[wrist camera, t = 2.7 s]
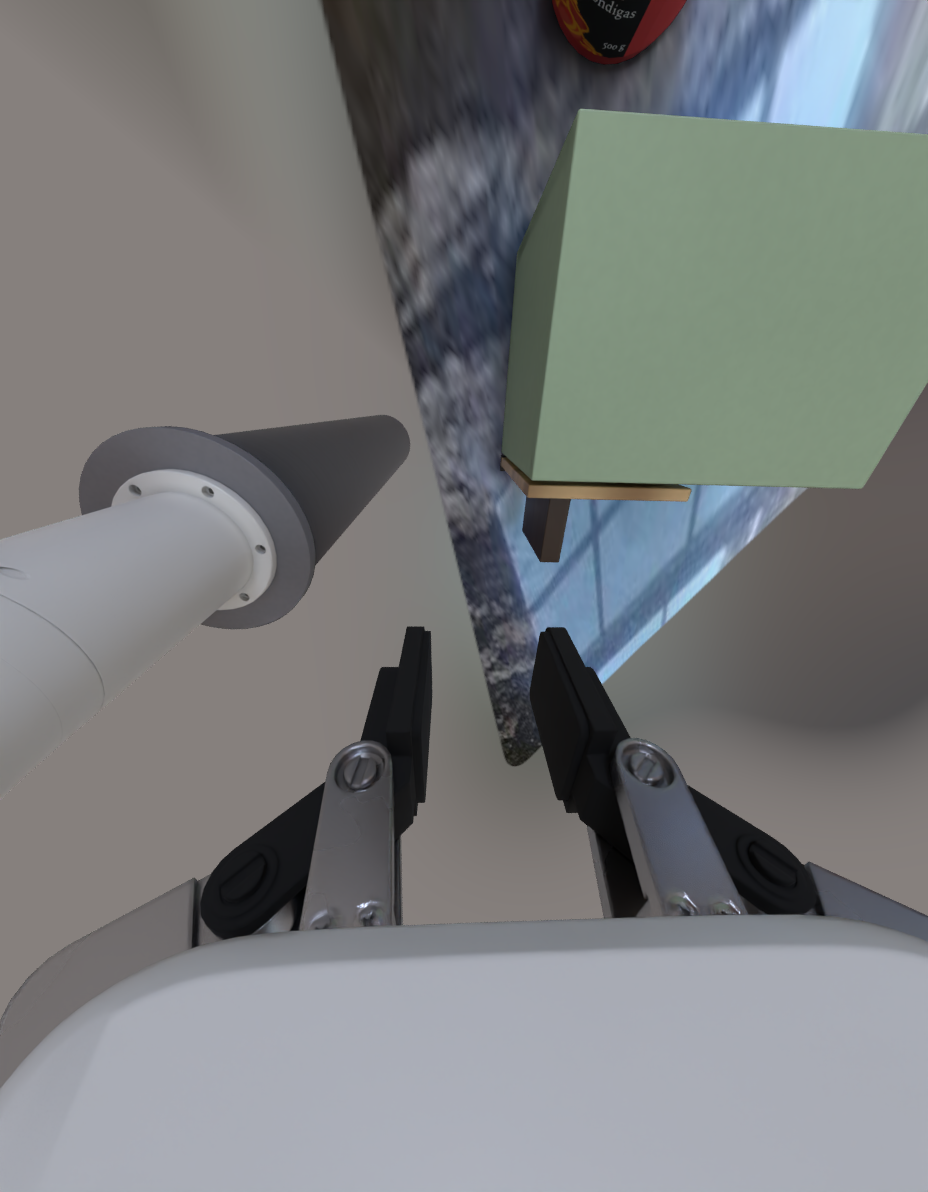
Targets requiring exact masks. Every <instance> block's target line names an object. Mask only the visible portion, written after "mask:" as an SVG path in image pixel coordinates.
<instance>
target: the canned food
mask: <svg viewBox="0 0 928 1192" xmlns="http://www.w3.org/2000/svg"><path fill="white" fill-rule="evenodd" d="M686 1H687V0H552V3H553V8H554V11H555V14H556V16H557V19H558V22H559V25H560V27H561V29H562V31H563V33H564V34H565V36H566V38H567V40H568V42H569V43H570V44H571V45H572V46H573V47H574V48H575V49H576V51H577V52H578V53H579V54H581V55H582V56H584V57H585V58H587V59H588V60H590V61H592V62H596V63H600V64H617V63H620V62H623V61H625V60H628V59H631V58H632V57H634V56H635V55H637V54H638V53H640V52H641V51H643V50H644V49H645V48H647V47H648V46H649V45H650V44H651V43H652V42H653V41H655V40H656V39H657V37H658V36H659V35H660V34H661V33H662V32H663V31H664V30H665V29H666V28H667V27H668V26H669V25H670V24H671V22H672V21H673V20H674V18H675V17H676V16H677V14H678V13H679V11H680V10H681V9H682V7H683V6H684V4H685V2H686Z"/></svg>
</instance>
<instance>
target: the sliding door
mask: <svg viewBox="0 0 928 1192" xmlns="http://www.w3.org/2000/svg"><path fill="white" fill-rule="evenodd" d="M501 466H502V467H503V469H504V470H505V471H506V472H507V473H508V475H509V476H510V477H511V478H512V479H513V481H514V482H515V483H516V484H517V486H518V487H519V488H520V489H521V490H522V492H523V493H524V494H525V495H526V504H525V512H524V520H523V528H522V531H523V533H524V534H525V536H526V538H527V540H528V541H529V543H530V545H531V547H532V548H533V550H534V552H535V554H536V556H537V557H538V559H539V561H540V562H559V559H560V553H561V548H562V543H563V537H564V532H565V527H566V521H567V516H568V511H569V505H570V500H571V499H597V500H641V501H685V502H686V501H688V499H689V496H690V493H691V489H690V488H687V487H684V486H681V485H678V484H647V483H607V482H567V481H533V480H531V479H530V478H529V477H528V476H527V475H526V474H525V473H524V472H523V471H521V470H520V469H519V468H518V467H517V466H516V465H515V464H514V463H513V462H512V461H511V460H510V459H508V458H507V457H503V458H502V462H501Z"/></svg>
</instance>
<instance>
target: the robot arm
mask: <svg viewBox="0 0 928 1192" xmlns="http://www.w3.org/2000/svg"><path fill="white" fill-rule="evenodd" d="M276 567H277V555H276V551H275V546H274V542H273V540H272V537H271V535H270V533H269V530H268V529H267V527H266V525H265V524H264V522H263V521H262V519H261V518H260V516H259V515H258V514H257V513H256V512H255V510H254V509H253V508H252V507H251V506H250V505H249V504H248V503H247V502H246V501H245V500H244V499H243V498H241V497H240V496H239V495H238V494H237V493H236V492H234V491H232V490H231V489H229V488H228V487H226V486H225V485H223V484H222V483H220V482H218V481H215V480H213V479H211V478H209V477H207V476H205V475H201V474H198V473H194V472H191V471H186V470H178V469H162V470H154V471H150V472H146V473H141V474H139V475H137V476H135V477H133V478H130V479H129V480H128V481H126V482H125V483H124V484H123V485H122V486H121V487H120V488H119V489H118V491H117V493H116V494H115V496H114V498H113V501H112V505H111V507H109V508H105V509H102V510H98V511H95V512H92V513H88V514H85V515H82V516H78V517H75V518H71V519H68V520H65V521H61V522H58V523H55V524H51V525H48V526H44V527H41V528H38V529H34V530H31V531H27V532H24V533H21V534H17V535H14V536H10V537H7V538H4V539H1V540H0V800H1V799H2V798H3V797H4V796H5V795H6V794H7V793H8V792H9V791H10V790H11V789H12V788H13V787H15V786H16V785H17V784H18V783H19V782H20V781H21V780H22V779H23V778H24V777H26V776H27V775H28V774H29V773H30V772H31V771H32V770H33V769H34V768H36V767H37V766H38V765H39V764H40V763H41V762H42V761H43V760H44V759H45V758H47V757H48V756H49V755H50V754H51V753H52V752H54V751H55V750H56V749H57V748H58V747H59V746H60V745H61V744H62V743H64V742H65V741H66V740H67V739H68V738H69V737H70V736H72V735H73V734H74V733H75V732H76V731H77V730H78V729H80V728H81V727H82V726H83V725H84V724H85V723H87V722H88V721H89V720H90V719H91V718H92V717H94V716H95V715H96V714H98V713H99V711H101V710H102V709H103V708H104V707H106V706H107V705H108V704H109V703H110V702H111V701H112V700H114V699H115V698H116V697H117V696H118V695H119V694H120V693H122V692H123V691H124V690H125V689H126V688H127V687H129V686H130V685H131V684H132V683H133V682H134V681H136V680H137V679H138V678H139V677H140V676H141V675H142V674H143V673H145V672H146V671H147V670H148V669H149V668H151V667H152V666H153V665H154V664H155V663H156V662H157V661H159V660H160V659H161V658H162V657H163V656H164V655H165V654H167V653H168V652H169V651H170V650H171V649H172V648H173V647H175V646H176V645H177V644H178V643H179V642H180V641H182V640H183V639H184V638H185V637H186V636H187V635H188V634H190V633H191V632H192V631H193V630H194V629H195V628H197V627H198V626H199V625H200V624H201V623H202V622H204V621H205V620H206V619H207V618H208V617H209V616H210V615H212V614H213V613H214V612H215V611H216V610H230V609H236V608H239V607H243V606H246V605H248V604H250V603H252V602H254V601H255V600H256V599H257V598H258V597H260V596H261V595H262V594H263V593H264V592H265V591H266V590H267V589H268V587H269V586H270V584H271V582H272V580H273V579H274V576H275V571H276ZM530 701H531V705H532V709H533V712H534V716H535V720H536V724H537V727H538V731H539V735H540V739H541V742H542V746H543V750H544V753H545V757H546V761H547V765H548V768H549V772H550V776H551V780H552V783H553V787H554V791H555V794H556V797H557V799H558V800H563V802H564V806H565V809H566V812H567V813H578V815H579V818H580V820H581V821H583V822H584V823H585V824H586V825H587V830H588V835H589V841H590V846H591V852H592V857H593V863H594V868H595V873H596V879H597V884H598V889H599V895H600V900H601V906H602V911H603V916H604V918H603V919H572V920H543V921H542V920H541V921H513V922H512V921H511V922H484V923H482V922H481V923H457V924H429V925H403V917H402V916H403V915H402V914H403V913H402V912H403V911H402V861H401V860H402V857H401V856H402V854H401V834H402V833H403V832H404V831H405V830H406V829H407V828H408V827H409V826H410V825H411V824H412V823H413V817H414V816H417V806H418V803H424V802H425V797H426V782H427V768H428V752H429V738H430V737H429V736H430V723H431V708H432V665H431V631H425V630H424V627H407V629H406V635H405V639H404V644H403V649H402V654H401V659H400V664H399V667H382V668H381V669H380V671H379V675H378V678H377V682H376V686H375V689H374V693H373V697H372V700H371V704H370V708H369V711H368V715H367V719H366V722H365V726H364V730H363V734H362V737H361V741H360V742H356V743H353V744H351V745H349V746H347V747H345V748H344V749H342V750H341V751H340V752H339V753H338V754H337V755H336V756H335V758H334V759H333V761H332V762H331V763H330V766H329V769H328V772H327V777H326V781H325V782H324V783H323V784H321V785H320V786H319V787H317V788H316V789H315V790H313V791H312V792H311V793H309V794H308V795H307V796H305V797H304V798H302V799H301V800H300V801H299V802H297V803H296V804H294V805H293V806H292V807H290V808H289V809H288V810H287V811H285V812H284V813H282V814H281V815H280V816H278V817H277V818H275V819H274V820H273V821H272V822H270V823H269V824H267V825H266V826H265V827H263V828H262V829H261V830H259V831H258V832H257V833H255V834H254V835H253V836H251V837H250V838H249V839H247V840H246V841H244V842H243V843H242V844H240V845H239V846H238V847H236V848H235V849H234V850H233V851H231V852H230V853H229V854H228V855H227V856H226V857H225V858H224V859H223V860H222V861H221V862H220V863H219V864H218V866H217V867H216V868H215V869H214V871H213V872H212V873H211V874H210V875H208V876H206V877H204V878H203V879H201V880H199V881H197V880H196V879H195V878H192V879H191V880H189V881H187V882H185V883H183V884H181V885H179V886H178V887H176V888H174V889H172V890H170V891H169V892H166V893H164V894H163V895H161V896H159V897H157V898H155V899H153V900H151V901H150V902H148V903H146V904H144V905H142V906H140V907H138V908H136V909H135V910H133V911H131V912H129V913H127V914H125V915H123V916H122V917H120V918H118V919H116V920H114V921H112V922H110V923H109V924H107V925H105V926H103V927H101V928H99V929H97V930H96V931H94V932H92V933H90V934H88V935H86V936H84V937H82V938H81V939H79V940H77V941H75V942H73V943H71V944H69V945H68V946H66V947H65V948H63V949H62V950H60V951H59V952H57V953H56V954H54V955H53V956H51V957H50V958H48V959H47V960H46V961H45V962H44V963H43V964H42V965H41V966H40V967H39V968H38V969H37V970H36V971H35V972H33V973H32V974H31V976H29V977H28V978H27V980H26V981H25V982H24V983H23V985H22V986H21V987H20V989H19V990H18V991H17V992H16V994H15V995H14V996H13V998H12V999H11V1000H10V1002H9V1004H8V1006H7V1008H6V1010H5V1012H4V1014H3V1016H2V1018H1V1020H0V1192H928V916H927V915H925V914H922V913H920V912H918V911H916V910H914V909H912V908H909V907H907V906H905V905H903V904H901V903H898V902H896V901H894V900H892V899H890V898H887V897H885V896H883V895H881V894H879V893H876V892H874V891H872V890H870V889H868V888H866V887H864V886H861V885H859V884H857V883H855V882H852V881H850V880H848V879H846V878H844V877H842V876H839V875H837V874H835V873H833V872H831V871H829V870H826V869H824V868H822V867H820V866H818V865H816V864H813V863H811V862H808V863H807V864H805V865H803V864H801V862H800V861H799V860H798V859H797V858H796V857H795V856H794V855H793V854H792V853H791V852H790V851H789V850H788V849H787V848H786V847H785V846H784V845H782V844H781V843H779V842H778V841H777V840H775V839H774V838H772V837H771V836H769V835H768V834H766V833H765V832H763V831H761V830H760V829H758V828H756V827H754V826H753V825H752V824H750V823H748V822H747V821H745V820H743V819H742V818H740V817H739V816H737V815H735V814H734V813H732V812H730V811H729V810H727V809H726V808H724V807H722V806H721V805H719V804H717V803H716V802H714V801H713V800H711V799H709V798H708V797H706V796H704V795H703V794H701V793H700V792H698V791H696V790H695V789H693V788H691V787H690V786H688V785H687V784H686V781H685V779H684V778H683V775H682V773H681V771H680V769H679V767H678V765H677V764H676V762H675V761H674V759H673V758H672V757H671V756H670V755H669V754H668V753H667V752H666V751H665V750H663V749H662V748H660V747H659V746H657V745H656V744H653V743H651V742H649V741H647V740H643V739H639V738H630V736H629V734H628V732H627V730H626V728H625V726H624V725H623V723H622V721H621V719H620V717H619V715H618V714H617V712H616V710H615V708H614V706H613V704H612V702H611V701H610V699H609V697H608V695H607V693H606V692H605V689H604V688H603V686H602V684H601V682H600V680H599V678H598V676H597V675H596V673H595V671H594V670H593V669H592V668H591V667H585V665H584V663H583V661H582V659H581V657H580V655H579V653H578V651H577V649H576V648H575V646H574V644H573V642H572V640H571V638H570V636H569V634H568V632H567V630H566V629H565V628H564V627H548V628H547V629H546V631H545V632H541V633H540V636H539V642H538V648H537V653H536V659H535V664H534V670H533V676H532V681H531V687H530Z"/></svg>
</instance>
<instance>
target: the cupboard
mask: <svg viewBox="0 0 928 1192" xmlns="http://www.w3.org/2000/svg"><path fill="white" fill-rule="evenodd" d="M927 382H928V134H915V133H901V132H888V131H874V130H861V129H847V128H834V127H820V126H807V125H793V124H780V123H766V122H753V121H739V120H726V119H712V118H699V117H686V116H672V115H659V114H645V113H632V112H618V111H605V110H591V109H579V110H578V113H577V115H576V117H575V119H574V121H573V124H572V126H571V128H570V131H569V133H568V135H567V138H566V140H565V142H564V145H563V147H562V149H561V152H560V154H559V156H558V159H557V161H556V163H555V166H554V168H553V170H552V173H551V175H550V177H549V180H548V182H547V184H546V187H545V189H544V191H543V194H542V196H541V198H540V201H539V203H538V205H537V208H536V210H535V213H534V215H533V217H532V220H531V222H530V224H529V227H528V229H527V231H526V234H525V236H524V238H523V241H522V243H521V245H520V248H519V250H518V252H517V262H516V275H515V287H514V300H513V312H512V325H511V338H510V350H509V363H508V375H507V388H506V400H505V413H504V426H503V438H502V451H501V452H502V453H503V454H504V455H501V462H502V458H503V457H507V458H508V459H510V460H511V461H512V462H513V463H514V464H515V465H516V466H517V467H518V468H519V469H520V470H521V471H523V472H524V473H525V474H526V475H527V476H528V477H529V478H530V479H531V480H533V481H567V482H607V483H647V484H687V485H727V486H767V487H807V488H846V489H861V488H863V487H864V485H865V483H866V482H867V480H868V479H869V477H870V475H871V474H872V472H873V470H874V469H875V467H876V465H877V464H878V462H879V461H880V459H881V457H882V456H883V454H884V452H885V451H886V449H887V448H888V446H889V444H890V443H891V441H892V439H893V438H894V436H895V435H896V433H897V431H898V430H899V428H900V426H901V425H902V423H903V421H904V420H905V418H906V416H907V415H908V413H909V412H910V410H911V408H912V407H913V405H914V403H915V402H916V400H917V399H918V397H919V395H920V394H921V392H922V390H923V389H924V387H925V386H926V384H927ZM500 471H505V470H504V469H503V467H502V466H501V463H500Z"/></svg>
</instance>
